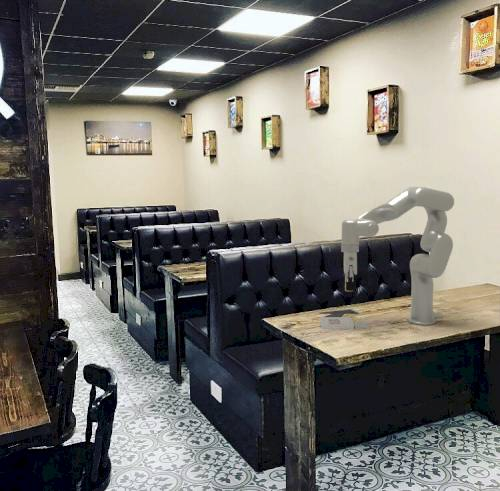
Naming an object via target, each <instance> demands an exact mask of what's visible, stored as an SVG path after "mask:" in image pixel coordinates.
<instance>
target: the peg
mask: <svg viewBox="0 0 500 491" xmlns="http://www.w3.org/2000/svg"><path fill="white" fill-rule="evenodd" d="M354 275H355V274H353V281H354ZM348 277H349V276H348ZM346 281H347V275H345V274H344V291H345V292H348V293H349V292H351V293H352V292H353V291H347V290H346Z"/></svg>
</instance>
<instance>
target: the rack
mask: <svg viewBox="0 0 500 491" xmlns="http://www.w3.org/2000/svg"><path fill="white" fill-rule="evenodd" d="M319 324H320V329H321V330H354V327H355V329H369V328H370V326H369V324H368V322H353V318H352V317H349V316H348V317H347V316H346V317H344V316H341V317H324V316H320V317H319Z"/></svg>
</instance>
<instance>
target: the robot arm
mask: <svg viewBox="0 0 500 491" xmlns="http://www.w3.org/2000/svg"><path fill="white" fill-rule="evenodd" d="M454 206H455V198H454V197H453V195H452V194H451V193H449V192H446V191H443V190H437V189H432V188H428V187H422V186H413V187H408V188H406V189H404V190H403V191H401V192H400V193H399V194H397V195H396V196H394V197H393V198H392V199H390V200H388V201H387V202H384V203H382V204H380V205H378V206H377V207H374V208H371V209H370V210H368V211H366V212H365V213H362V215H360V216H359V217H357V218H356V219H346V220H343V221H342V222H341V244H340V246H341V250H340V251H341V253H343V272H344V276H345V275H347V281H346V290H347V291H346V292H348V291H352V292H354V285H355V284H354V283H355V281H354V280H353V275H355V276H356V275H357V274H358V256H357V254H358V253H359V250H360V249H359V248H360V247H359V246H360V237H366V238H372V237H375V236H377V234H378V232H379V230H380V228H379V225H380V224H382V223H384V222H385V223H386V222H390V221H394V220H397V219H399V218H400V217H401V216H403V215H404V214H406V213H407V212H409V211H410V210H412V209H413V208H415V207H422V208H424V210H425V211H426V214H427V221H426V224H425V228H424V230H423V233H422V236H421V239H420V248H421V249H422V250H423V251H425V252H428V253H429V254H428V253H427V254H426V253H417V254H414V255H413V256H412V257H411V259H410V261H409V270H410V277H411V278H410V279H411V287H410V288H411V293H410V294H411V296H410V297H411V298H410V316H408V317H407V318H406V320H407V322H408V323H410V324H413V325H418V326H421V325H422V326H430V325H435V324H436V322H437V319H444V317H445V316H444V314H443V313H442V314H441V313H435V312H433V311H434V310H433V308H434V280H433V279H437V278H440V277H441V276H442V275H443V274H444V272H445V270H446V268H447V266H448V263H449V260H450V257H451V254H452V252H453V247H454V243H453V239H452V237H451V236H450V235H449V234H447V233H446V229H447V224H448V216H447V213H446V212H448V211H451V209H453V207H454ZM348 276H349V277H348Z"/></svg>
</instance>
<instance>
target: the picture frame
mask: <svg viewBox="0 0 500 491" xmlns="http://www.w3.org/2000/svg"><path fill="white" fill-rule="evenodd" d="M313 314H314V316H315V315H324V316H323V317H343V316H344V315H364V313H363V312H360V311H359V310H356V309H354V308H344V309H343V308H342V309H334V310H332V309H331V310H324V311H315V312H314V313H313Z"/></svg>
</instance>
